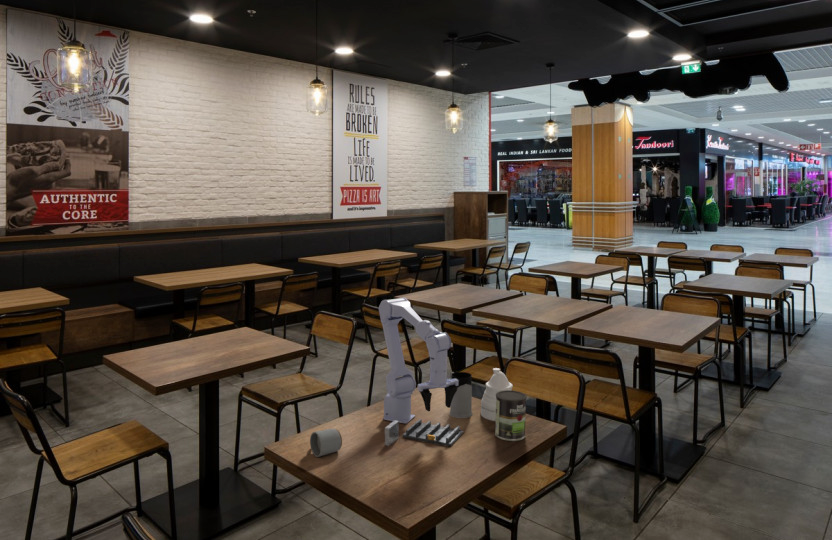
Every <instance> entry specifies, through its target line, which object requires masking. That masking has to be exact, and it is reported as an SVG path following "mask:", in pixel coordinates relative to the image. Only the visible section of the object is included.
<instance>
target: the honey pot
mask: <svg viewBox="0 0 832 540" xmlns="http://www.w3.org/2000/svg"><path fill="white" fill-rule="evenodd" d="M492 372H493V374H492V376H491V377H490V379H489V380H488V381H487V382H485V387H486V388H485V390H484V392H483V395H482V398H481V401H480V415H481V417H482V418H483V419H486V420H489V421H492V422H496V393H497V392H500V391H507V390H510V391H513V389H512V388H513V387H514V386H513V383H511V382H510V381H509V379H508V377H507V376H506V374H505V373H504V372H502V371H501V368H497V367H495V368H494V367H493V368H492Z"/></svg>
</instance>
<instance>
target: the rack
mask: <svg viewBox="0 0 832 540" xmlns="http://www.w3.org/2000/svg"><path fill="white" fill-rule="evenodd" d="M441 423H442V422H437V423H436V424H432V420H427V422H423V420H422V418H419V419H418V420H416V421H415V422H414V423H413V424H411V425H410V426H409V427H408V428H407V429H406V430H405V432H404V433H403V434H402V438H405V439H410V440H413V441H419V442H425V443H429V444H434V445H440V446H445V447H452V446H453V444H455V442H456V441H457V440H458V439H459V438H460V437H461V436H462V435H463V434H464V430H463V429H461V427H460V425H457V426H456V427H455V428H453V427H451V423H447V424H446V425H445V426H442V425H441Z"/></svg>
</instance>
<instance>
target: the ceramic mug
mask: <svg viewBox="0 0 832 540" xmlns="http://www.w3.org/2000/svg"><path fill="white" fill-rule="evenodd" d="M309 444H310V450H311V452H312V454H313V455H314V456H315V457H317V458H320V457H323V456H326V455H329V454H333V453H336V452H338V451H340V450H341V449H342V447H343V437H342V434H341V432H340V431H339V430H338V428H327V429H324V430H318V431H317V430H315V431H313V432H312V433H311V434H310V438H309Z"/></svg>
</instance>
